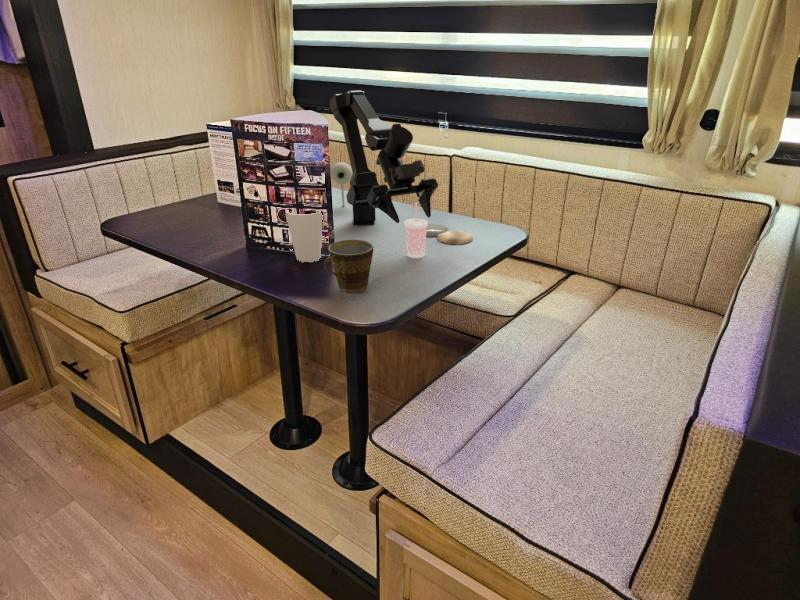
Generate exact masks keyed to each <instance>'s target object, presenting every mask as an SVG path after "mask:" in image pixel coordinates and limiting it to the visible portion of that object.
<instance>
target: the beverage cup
mask: <svg viewBox="0 0 800 600" xmlns="http://www.w3.org/2000/svg"><path fill="white" fill-rule="evenodd" d="M403 223H404V228H405V239H406V240H405V241H406V242H405V243H406V255H407V257H409V258H411V259H419V258H423V257H425V255H426V242H427V237H426V231H427V226H428V224H429V221H428V220H426V219H425V218H418V202H414V218H408V219H405V220H404V222H403Z"/></svg>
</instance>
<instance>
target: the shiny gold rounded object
mask: <svg viewBox="0 0 800 600" xmlns="http://www.w3.org/2000/svg"><path fill="white" fill-rule="evenodd" d="M436 239H437V241H438V240H439V242H440V243H442V242H443V244H446V243H447V244H448V245H464V244H468V242H469V243H471V242H472V241H473V235H472V234H471V233H469V232H466V231H462V230H448V231H447V232H443V233H442V234H441V233H440V234H438V235H437V237H436ZM470 241H471V242H470ZM447 244H446V245H447Z"/></svg>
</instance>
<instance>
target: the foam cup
mask: <svg viewBox="0 0 800 600" xmlns="http://www.w3.org/2000/svg"><path fill="white" fill-rule="evenodd" d="M284 212H285V218H286V219H285V220H286V222H287V224H288V225H287V226H288V228H289V233H290V238H291V240H292V241H291V242H292V246H293V250H294V254H295V257H296V260H297V261H298V260H299V261H298V262H300V261H301V262H300V263H304V262H309V263H314V261H315V262H318V261H320V260H321V259H320V258H322V254H321V248H322V249H323V236H322V220H323V221H324V219H323V215H322V213H321V211H319V212H316V213H311V214H292V213H289V210H286V209H285V211H284ZM319 259H320V260H319Z"/></svg>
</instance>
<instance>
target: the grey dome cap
mask: <svg viewBox="0 0 800 600" xmlns="http://www.w3.org/2000/svg"><path fill="white" fill-rule="evenodd" d="M447 231H449V228H448V227H447V226H446V225H442V224H436V223H434V224H433V223H430V224H429V223H428V226H427V231H426V238H427V237H429V238H433V237H435V238H437V237H436V236H437V235H438V234H440V233H441V234H442V233H443V232H447Z"/></svg>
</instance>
